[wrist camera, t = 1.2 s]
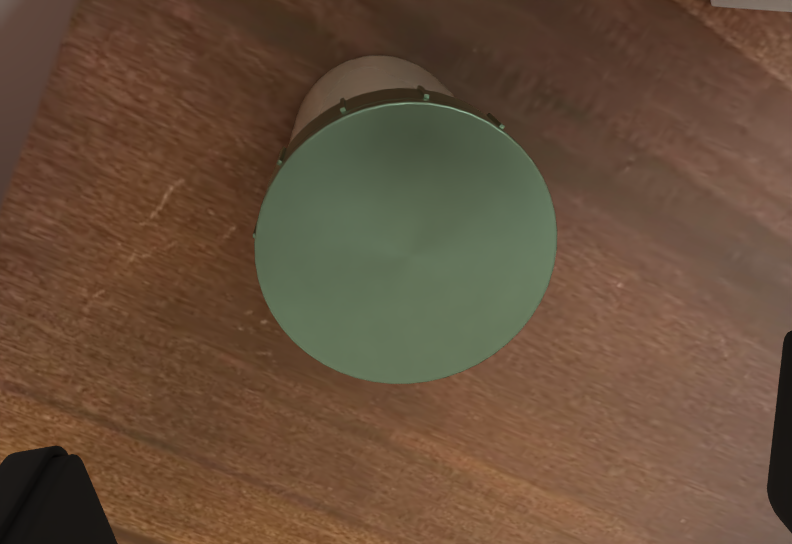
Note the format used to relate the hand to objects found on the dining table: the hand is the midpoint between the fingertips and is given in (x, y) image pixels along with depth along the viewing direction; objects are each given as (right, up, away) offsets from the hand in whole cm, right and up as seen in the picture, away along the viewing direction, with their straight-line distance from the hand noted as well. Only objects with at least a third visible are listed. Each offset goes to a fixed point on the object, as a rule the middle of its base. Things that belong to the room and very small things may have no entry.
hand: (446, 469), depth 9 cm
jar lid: (0, +3, +6) cm, 7 cm away
